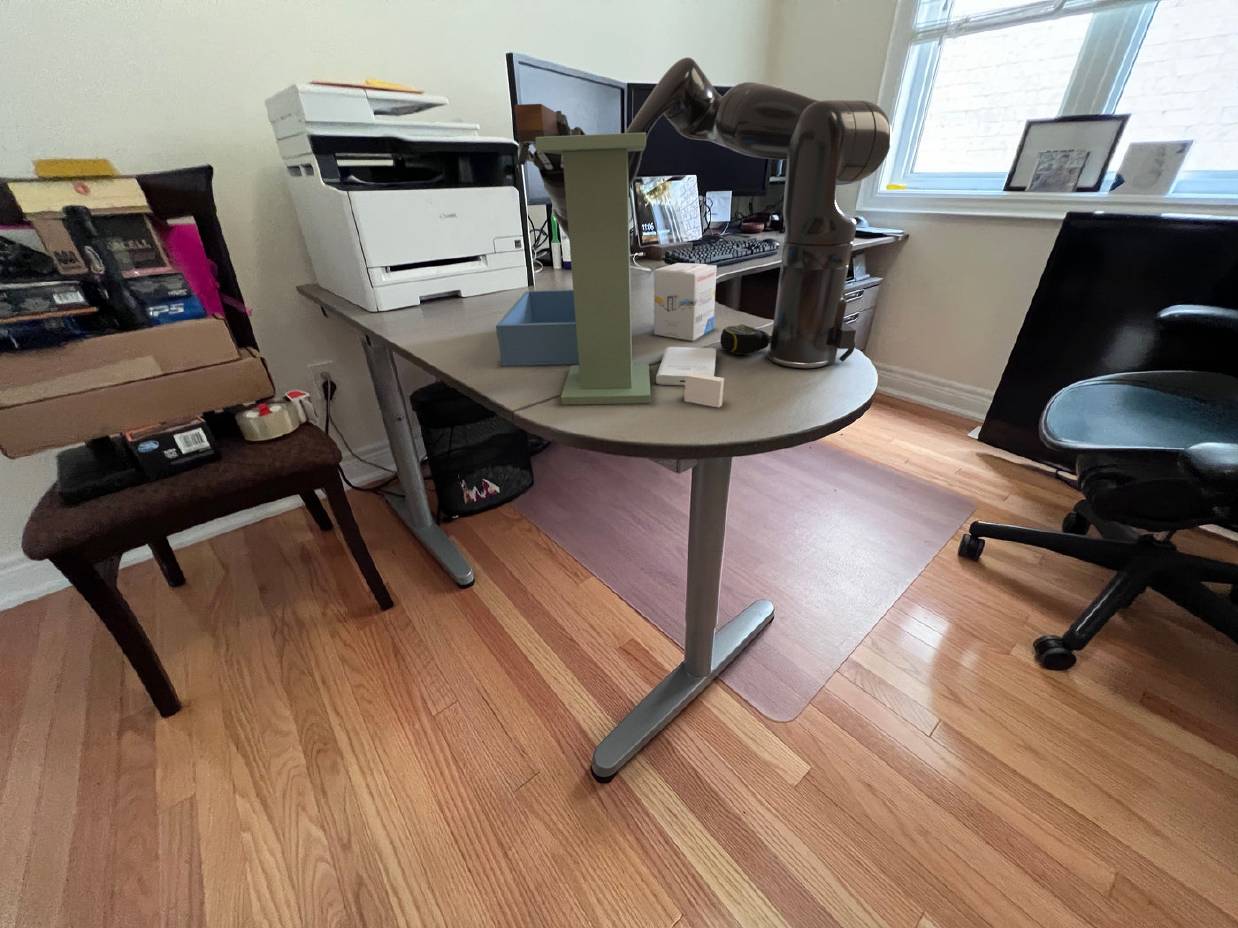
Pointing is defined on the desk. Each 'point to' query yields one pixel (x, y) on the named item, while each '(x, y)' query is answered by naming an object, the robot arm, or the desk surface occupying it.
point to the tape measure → (743, 339)
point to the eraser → (704, 389)
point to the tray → (539, 330)
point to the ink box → (684, 300)
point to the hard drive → (685, 364)
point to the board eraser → (535, 122)
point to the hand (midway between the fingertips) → (545, 117)
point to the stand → (600, 267)
